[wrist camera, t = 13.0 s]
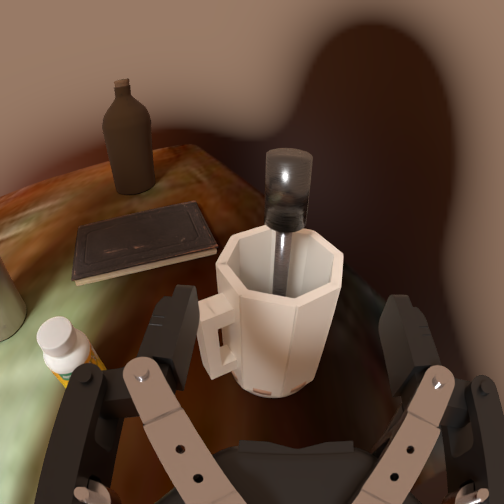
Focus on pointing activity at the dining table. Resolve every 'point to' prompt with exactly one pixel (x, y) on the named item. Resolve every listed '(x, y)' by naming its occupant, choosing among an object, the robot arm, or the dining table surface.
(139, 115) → the olive oil
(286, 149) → the plunger
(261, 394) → the octagonal white mug
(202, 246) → the hardcover book
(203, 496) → the robot arm
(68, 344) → the supplement bottle
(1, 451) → the dining table surface
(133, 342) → the dining table surface
